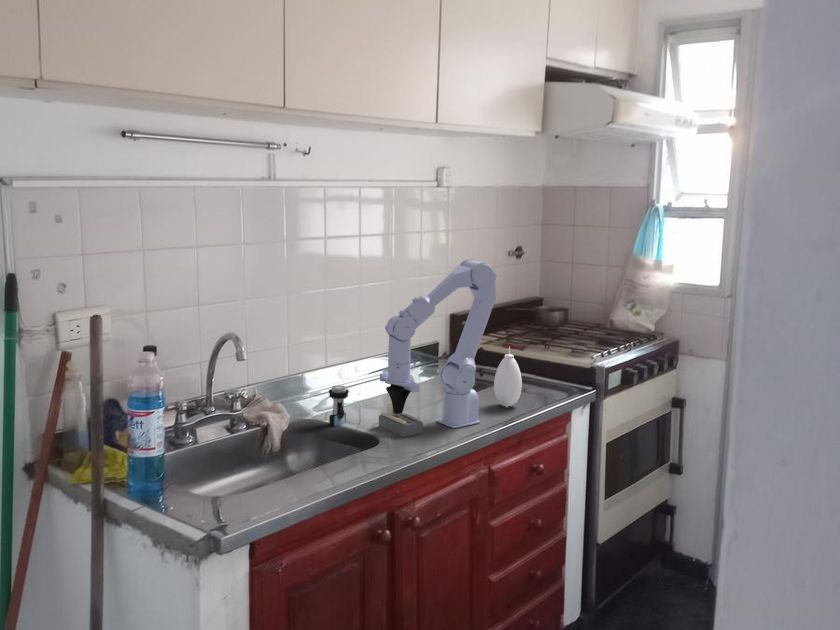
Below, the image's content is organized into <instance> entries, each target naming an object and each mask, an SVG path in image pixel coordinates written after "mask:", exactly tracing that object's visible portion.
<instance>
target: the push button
mask: <svg viewBox="0 0 840 630" xmlns="http://www.w3.org/2000/svg"><path fill="white" fill-rule="evenodd" d="M328 393H329V398H331V399H332V400H333V401H332V402H333V403H332V404H333V405H332V413H331V414H330V415H329V425H330V426H334V427H338V426H341V425H344V424H346V422H347V419H349V418H348V417H347V416H348V414H347V412H345V399H346V398H348V397H349V393H350V390H349V389H347V388H346V386H345V385H333V386H332V387H331V388H330V389H329V390H328Z"/></svg>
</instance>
